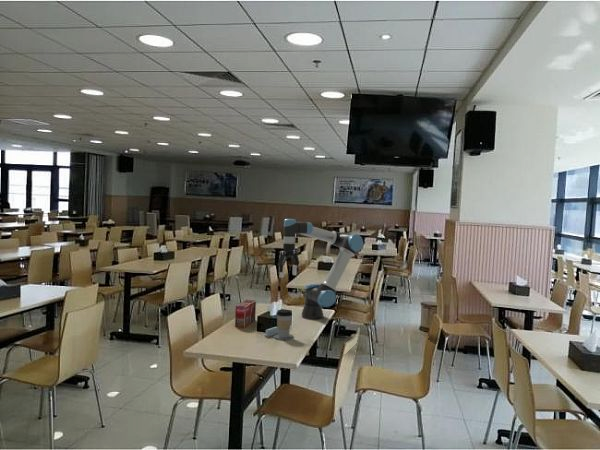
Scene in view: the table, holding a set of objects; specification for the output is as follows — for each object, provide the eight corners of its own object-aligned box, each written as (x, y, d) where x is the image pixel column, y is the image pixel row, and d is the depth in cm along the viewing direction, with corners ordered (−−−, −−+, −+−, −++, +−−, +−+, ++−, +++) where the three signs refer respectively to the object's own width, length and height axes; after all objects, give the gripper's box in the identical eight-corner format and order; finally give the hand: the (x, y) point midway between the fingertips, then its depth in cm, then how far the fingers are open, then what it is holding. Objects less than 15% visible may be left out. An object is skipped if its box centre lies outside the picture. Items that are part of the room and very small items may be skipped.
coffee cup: (288, 339, 269) (289, 313, 268) (272, 337, 272) (273, 311, 271) (293, 335, 277) (294, 310, 277) (278, 333, 281) (279, 308, 280)
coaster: (281, 333, 283) (281, 332, 283) (297, 337, 276) (297, 336, 276) (268, 337, 273) (268, 336, 273) (285, 341, 266) (285, 340, 266)
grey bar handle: (280, 330, 288) (281, 324, 288) (284, 331, 286) (285, 325, 286) (264, 336, 275) (264, 329, 275) (268, 337, 273) (268, 330, 273)
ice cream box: (244, 328, 292) (245, 306, 292) (235, 327, 294) (235, 305, 293) (255, 320, 312) (255, 300, 311) (246, 319, 313) (246, 299, 313)
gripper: (295, 241, 312) (294, 273, 313) (272, 243, 291) (271, 277, 292) (305, 242, 307) (304, 274, 308) (281, 244, 287) (280, 279, 288)
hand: (288, 276), depth 300 cm, fingers open, 13 cm apart
